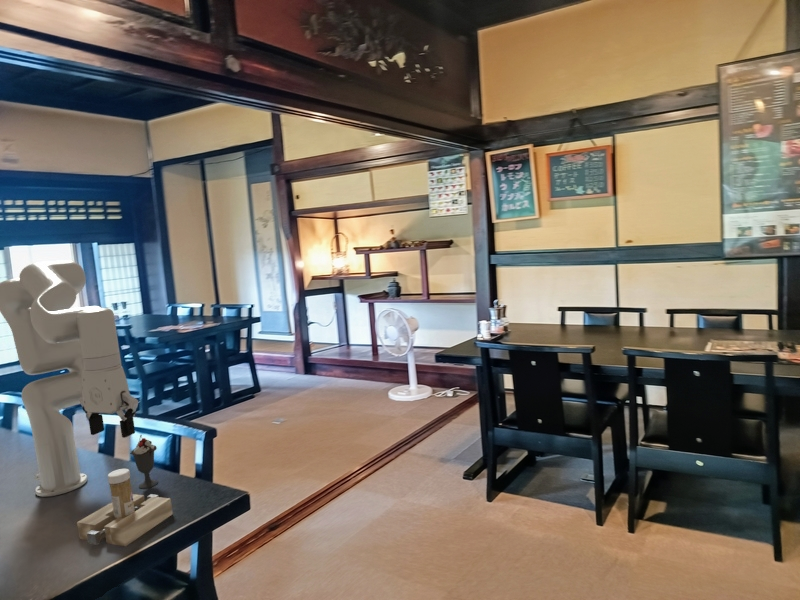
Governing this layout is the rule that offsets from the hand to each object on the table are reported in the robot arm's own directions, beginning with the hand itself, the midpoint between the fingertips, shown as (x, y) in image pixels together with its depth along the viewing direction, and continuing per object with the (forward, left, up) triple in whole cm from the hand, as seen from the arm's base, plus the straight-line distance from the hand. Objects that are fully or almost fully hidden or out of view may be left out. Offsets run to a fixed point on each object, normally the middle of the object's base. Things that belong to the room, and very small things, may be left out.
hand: (113, 434), depth 126 cm
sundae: (-12, +18, -23) cm, 32 cm away
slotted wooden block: (+1, -1, -22) cm, 22 cm away
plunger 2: (+1, +5, -21) cm, 22 cm away
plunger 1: (+1, -6, -21) cm, 22 cm away
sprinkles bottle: (0, -1, -23) cm, 23 cm away
